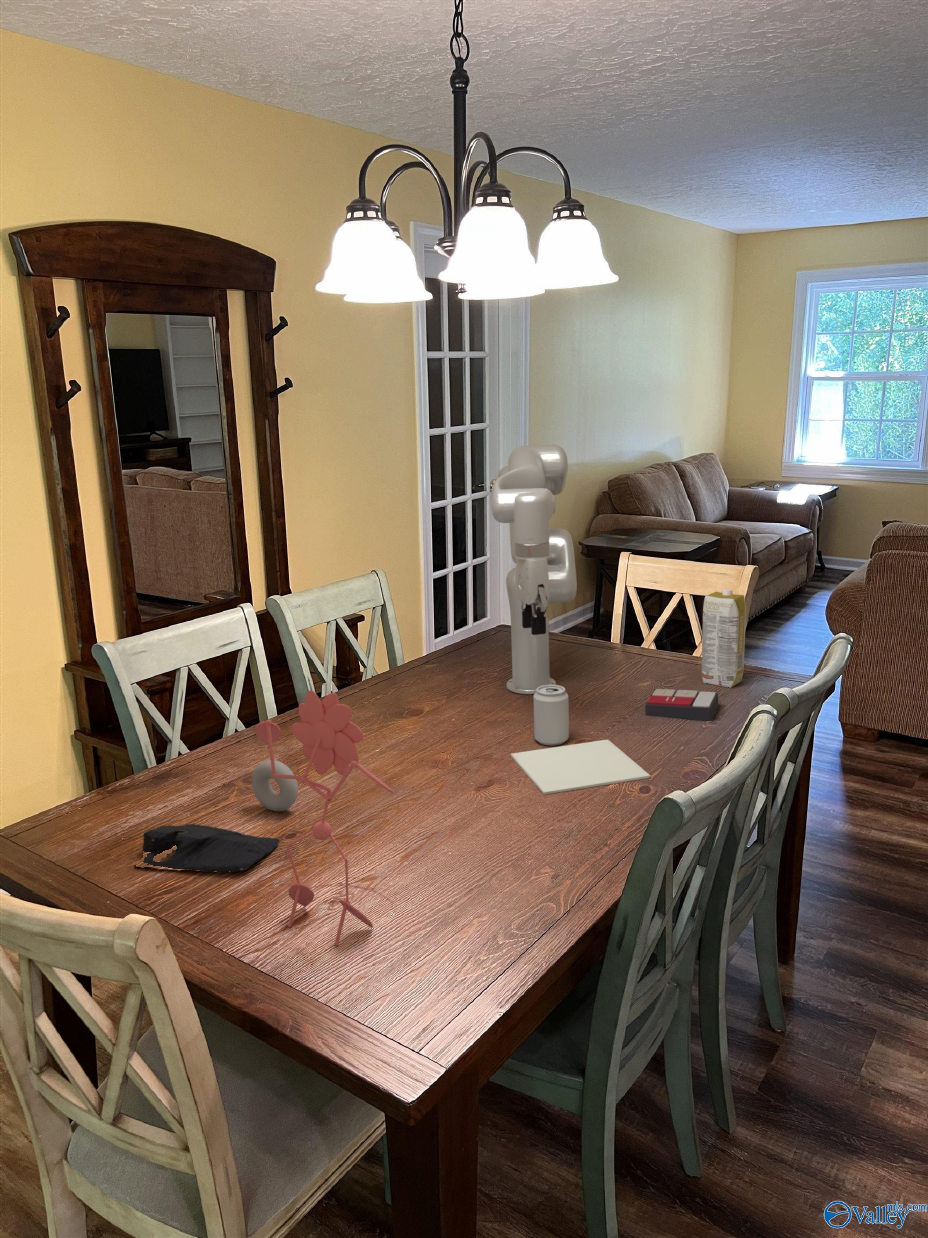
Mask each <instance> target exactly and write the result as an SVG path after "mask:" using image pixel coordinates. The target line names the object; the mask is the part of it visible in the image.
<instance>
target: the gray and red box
mask: <svg viewBox="0 0 928 1238" xmlns="http://www.w3.org/2000/svg"><path fill="white" fill-rule="evenodd" d="M717 708H719V693H717V692H716V691H715V692H714V691H698V690H691V689H678V690H676V689H672V688H671V689H668V688H656V689H655V690H654V691H653V692H652V694H651V695H650V697H649V698H648V700H647V701H646V702H645V704H644V709H645V710H644V711H645V716H649V717H660V718H666V719H668V718H669V719H678V718H681V720H682V719H683V720H691V721H698V722H705V721H713V720H714V717H715V715H716V713H717V711H718V709H717ZM716 710H717V711H716ZM715 712H716V713H715ZM713 716H714V717H713ZM712 719H713V720H712Z"/></svg>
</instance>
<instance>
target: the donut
mask: <svg viewBox="0 0 928 1238" xmlns="http://www.w3.org/2000/svg"><path fill="white" fill-rule="evenodd" d="M274 762H275V771H276V773H275V774H284V775H294V776H295V774H294V773H293V771H292V770H291V769H290V767H289V766H287V765H286V764H285V763H284V762H282V761H279V760H277V759H274ZM273 775H274V774H272V768H271V760H270V759H267V760H264V761H262V762H259V764H258V765H257V766H255V768H254V770H253V772H252V775H251V786H252V792H253V795H254V796H255V798H256V799H257V801H258V802H259V803H260V805H262V806H263V807H264V808H265V809H267V810H269V809H270V811H272V810H274V811H273V812H280V811H282V812H284V811H286V810H289V809H290V808H291V807H293V805H294V804H295V803H296V801H297V799H298V796H299V784H298V781H297V779H285V778H274V777H273ZM271 779H273V780H274V781H276V783H277V785H278V787H279V793H278V792H276V791H275V790H274V789H273V788H272V786H271V783H270V781H271Z"/></svg>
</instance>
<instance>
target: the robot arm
mask: <svg viewBox="0 0 928 1238" xmlns="http://www.w3.org/2000/svg"><path fill="white" fill-rule="evenodd" d="M507 463H508V464H507V465H506V466H503V467H502V468H501V469H500V470H499V472H498V474H497V479H496V480H495V481H494V482H493V486H492V487H491V495H490V500H491V501H490V502H491V504H490V505H491V506H490V507H491V513H492V517H493V519H494V520H495V521H496V522H498V523H501V524H509V544H510V555H511V559H512V562H513V563H514V564H515V567H514V568H512V569H510V570H509V571H508V573H507V574H506V577H505V578H506V581H505V583H506V584H505V585H506V591H507V597H508V604H509V612H510V616H509V617H510V629H511V631H510V633H511V634H510V636H511V638H510V639H511V640H510V641H511V663H512V664H511V665H512V666H511V667H512V668H511V671H512V677H511V678H510V679H509V680H508V681H507V682H506V688H507V689H508V690H509V691H511V692H512V693H517V694H521V695H522V694H523V695H534V694H535V693H536V692H537V691H536V689H537V688H538V687H540V686H543V685H557V684H556V683H557V682H556V680H555V679H553V678H552V677H551V675H550V673H551V672H550V630H549V628H550V626H549V625H550V624H549V619H548V617H547V608H549V607H548V604H559V603H561V604H563V603H569V602H572V601H573V600H574V599H575V597H576V595H577V592H578V591H577V590H578V587H577V586H578V584H577V582H578V581H577V580H578V579H577V571H576V560H575V549H574V542H573V537H572V535H571V533H570V532H569V531H568V530H567V529H564V528H558V527H557V528H550V520H551V519H552V517H553V516H554V514H556V513H555V512H556V509H557V508H556V507H557V504H556V503H557V502H556V497H555V496H557V495H558V496H559V495H560V494H562V493H563V492H564V490H565V488H566V483H567V476H568V470H569V465H568V464H569V462H568V456H567V453H566V451H565V450H564V448H563V447H562V446H561V445H558V444H540V445H539V444H536V445H534V444H533V445H522V446H519V447H516V448H515V449H514V450H512V451H511V453H510V454H509V457H508V461H507Z"/></svg>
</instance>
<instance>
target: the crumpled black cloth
mask: <svg viewBox="0 0 928 1238" xmlns="http://www.w3.org/2000/svg"><path fill="white" fill-rule="evenodd" d="M242 834H243V835H242ZM242 834H241V832H239V831H234V830H229V829H225V828H220V827H216V826H215V827H214V826H209V825H201V824H195V823H190V824H189V823H187V824H184V825H162V826H158V827H156V828H153V829H149V830H148V831H145V832H144V833H143V839H142V840H143V844H142V851H144V852H151V853H149V854H147V857H145V858H144V861H143V862H144V863H148V864H147V865H149V864H150V865H153V866H161V867H162V866H163V867H168V868H173V869H192V870H204V871H208V872H210V871H212V872H211V873H214V872H213V871H217V872H216V873H219V872H224V873H229V871H232V872H233V873H240V872H244V871H246V870H247V869H248V868H249V867H251V866H253V865H254V864H255V863H257V862H258V861H260V860H261V859H262V858H263V857H265V856H267V855H269V854H270V853H271V852H272V851H273V850H275V849H276V848H278V845H279V844H278V843H279V842H280V841H279V840H280V839H279V838H277V837H276V838H275V837H274V838H272V837H261V836H255V835H249V834H245V833H242ZM278 841H279V842H278ZM175 845H176V846H177V849H176V850H175V851H174V853H172V856H171V858H169V859H166V860H161V861H160V862H155V861H153V858H154V856H156V855H157V854H160V853H162V852H163V851H165V850H169V849H171V848H172V847H173V846H175ZM274 848H275V849H274ZM192 870H191V871H192ZM239 871H240V872H239Z"/></svg>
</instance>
